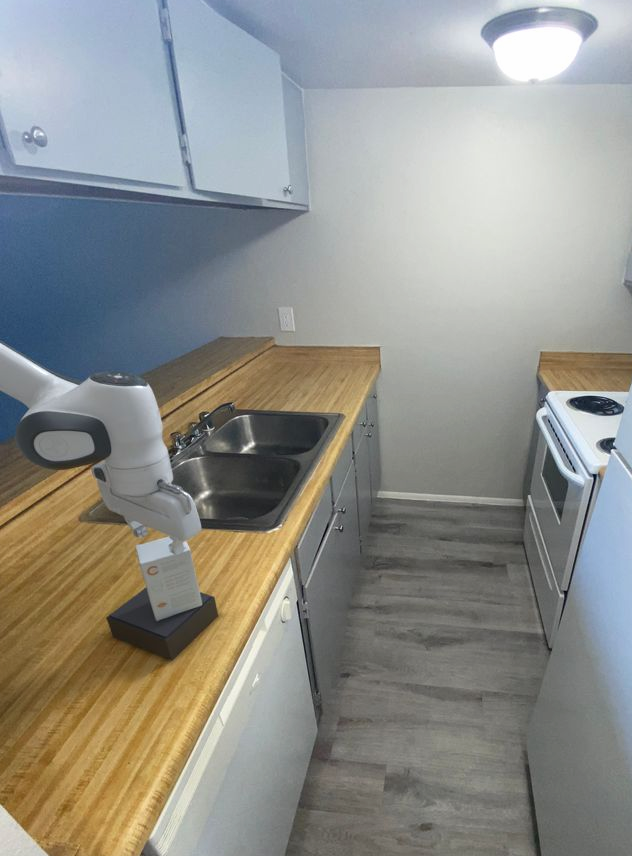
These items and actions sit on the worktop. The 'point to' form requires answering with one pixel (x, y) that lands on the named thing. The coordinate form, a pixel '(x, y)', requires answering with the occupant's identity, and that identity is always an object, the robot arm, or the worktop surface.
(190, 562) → the small box
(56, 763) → the worktop surface
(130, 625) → the dark gray box
